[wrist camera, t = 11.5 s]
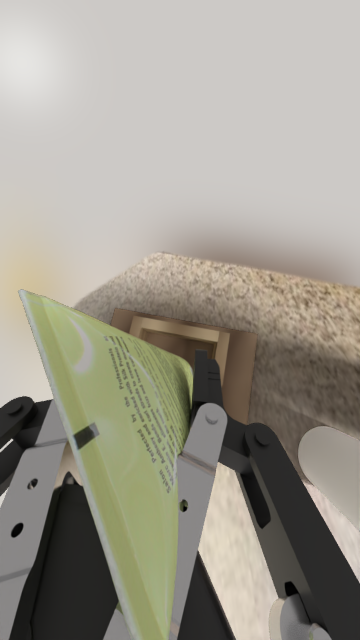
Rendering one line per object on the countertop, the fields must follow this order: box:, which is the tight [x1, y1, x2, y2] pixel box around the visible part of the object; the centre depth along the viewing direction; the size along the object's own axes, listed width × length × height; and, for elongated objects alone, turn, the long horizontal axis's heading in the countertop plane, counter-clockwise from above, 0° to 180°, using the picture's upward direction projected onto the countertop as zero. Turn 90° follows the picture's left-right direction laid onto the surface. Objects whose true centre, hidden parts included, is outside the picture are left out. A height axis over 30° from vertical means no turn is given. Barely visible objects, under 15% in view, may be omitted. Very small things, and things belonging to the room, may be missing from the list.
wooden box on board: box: [110, 308, 258, 430], centre depth 24 cm, size 20×14×6 cm
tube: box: [18, 289, 193, 640], centre depth 13 cm, size 6×5×20 cm
